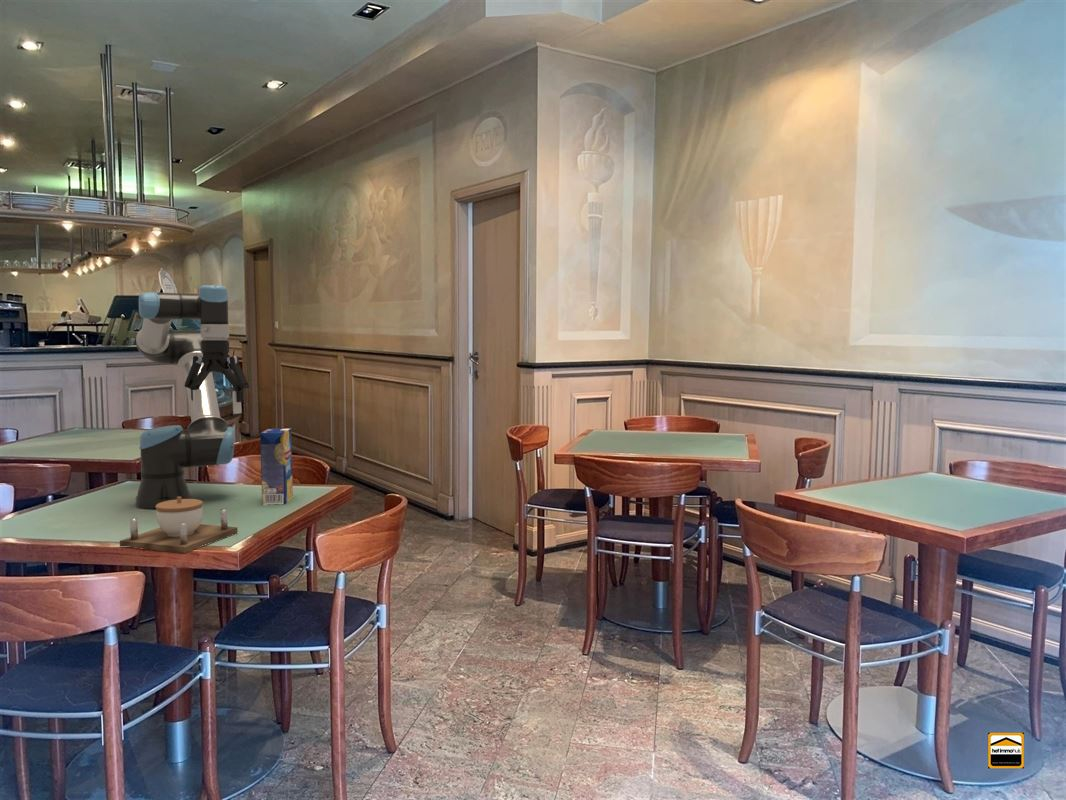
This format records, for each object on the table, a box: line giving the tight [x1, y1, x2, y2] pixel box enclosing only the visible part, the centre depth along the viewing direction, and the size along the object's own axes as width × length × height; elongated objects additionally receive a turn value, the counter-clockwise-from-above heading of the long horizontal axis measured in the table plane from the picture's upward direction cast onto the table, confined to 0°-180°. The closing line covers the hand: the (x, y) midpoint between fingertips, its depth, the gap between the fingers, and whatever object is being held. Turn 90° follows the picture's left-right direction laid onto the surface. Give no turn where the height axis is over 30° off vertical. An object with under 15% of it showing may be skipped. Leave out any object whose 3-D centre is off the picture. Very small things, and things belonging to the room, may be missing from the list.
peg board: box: [119, 523, 239, 554], centre depth 189 cm, size 19×19×2 cm
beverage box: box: [259, 428, 294, 506], centre depth 232 cm, size 7×11×22 cm, turn 6°
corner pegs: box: [129, 508, 229, 545], centre depth 188 cm, size 16×16×5 cm
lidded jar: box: [155, 497, 204, 537], centre depth 188 cm, size 11×11×9 cm
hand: (217, 412), depth 218 cm, fingers open, 13 cm apart
